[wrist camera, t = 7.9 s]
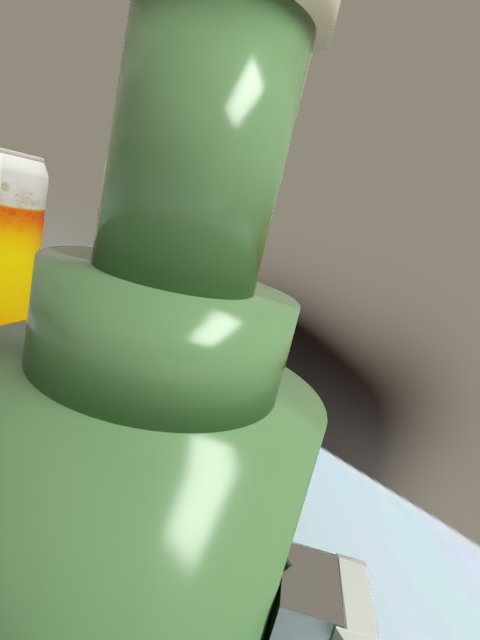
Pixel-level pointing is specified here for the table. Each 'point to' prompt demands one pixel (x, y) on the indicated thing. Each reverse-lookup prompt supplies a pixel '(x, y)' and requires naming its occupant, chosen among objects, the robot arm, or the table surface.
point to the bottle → (166, 351)
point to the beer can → (19, 229)
